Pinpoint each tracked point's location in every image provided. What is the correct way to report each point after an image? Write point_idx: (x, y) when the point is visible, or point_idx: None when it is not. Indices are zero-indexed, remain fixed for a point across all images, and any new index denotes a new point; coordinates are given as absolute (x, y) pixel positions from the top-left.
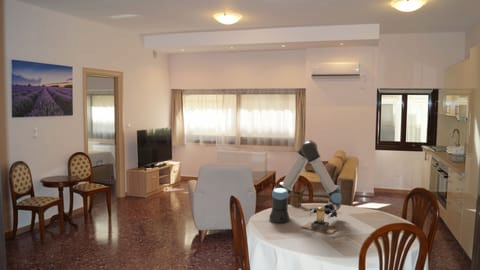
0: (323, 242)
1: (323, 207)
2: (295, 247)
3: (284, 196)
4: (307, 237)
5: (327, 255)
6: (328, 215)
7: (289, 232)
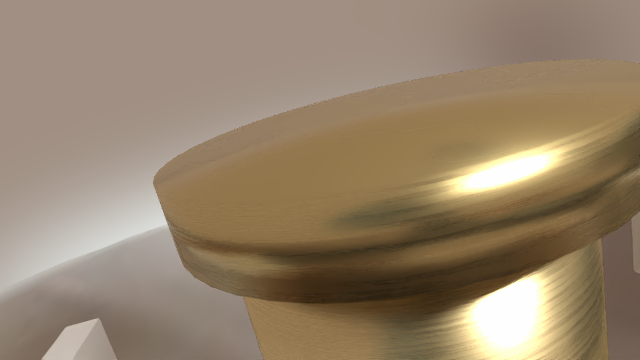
0: (182, 308)
1: (294, 160)
2: None
3: None
4: None
5: (129, 244)
6: (83, 333)
7: None
